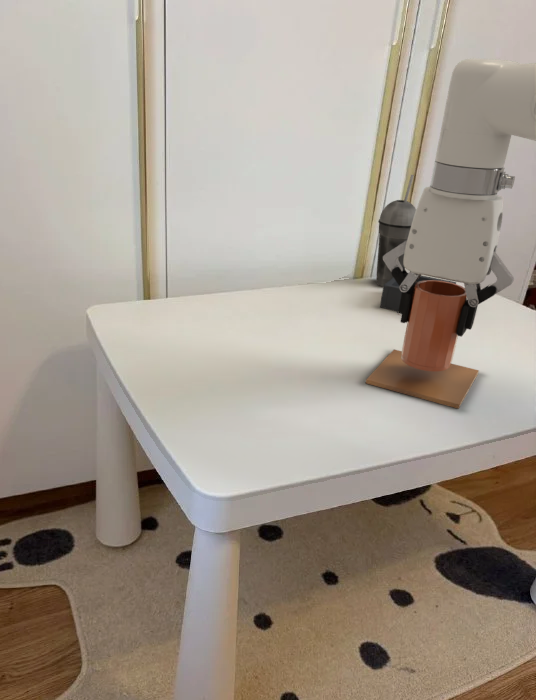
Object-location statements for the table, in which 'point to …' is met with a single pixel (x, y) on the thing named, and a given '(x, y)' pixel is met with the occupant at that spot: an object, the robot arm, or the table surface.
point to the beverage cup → (393, 232)
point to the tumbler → (433, 325)
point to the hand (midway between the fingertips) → (433, 325)
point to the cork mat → (424, 380)
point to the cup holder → (397, 293)
